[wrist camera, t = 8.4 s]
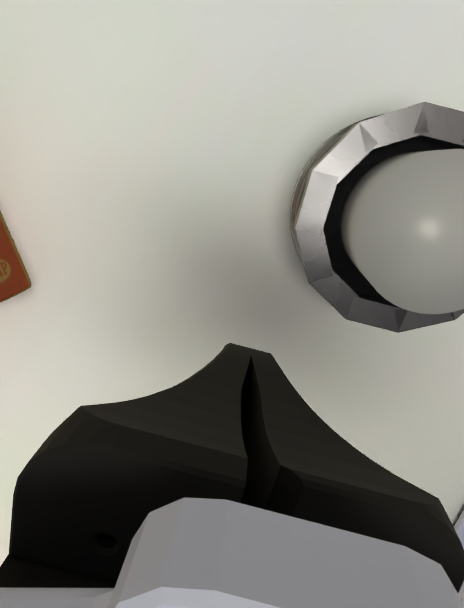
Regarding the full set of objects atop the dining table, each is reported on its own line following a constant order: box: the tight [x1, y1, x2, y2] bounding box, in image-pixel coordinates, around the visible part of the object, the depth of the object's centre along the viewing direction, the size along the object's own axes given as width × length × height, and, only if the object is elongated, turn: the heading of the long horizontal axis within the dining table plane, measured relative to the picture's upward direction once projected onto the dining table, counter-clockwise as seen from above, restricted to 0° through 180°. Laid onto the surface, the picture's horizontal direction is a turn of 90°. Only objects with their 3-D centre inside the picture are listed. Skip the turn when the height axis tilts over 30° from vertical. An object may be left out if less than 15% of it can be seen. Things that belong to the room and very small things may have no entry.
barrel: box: [290, 102, 464, 333], centre depth 18 cm, size 8×8×5 cm
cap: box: [338, 149, 464, 314], centre depth 14 cm, size 5×5×4 cm
